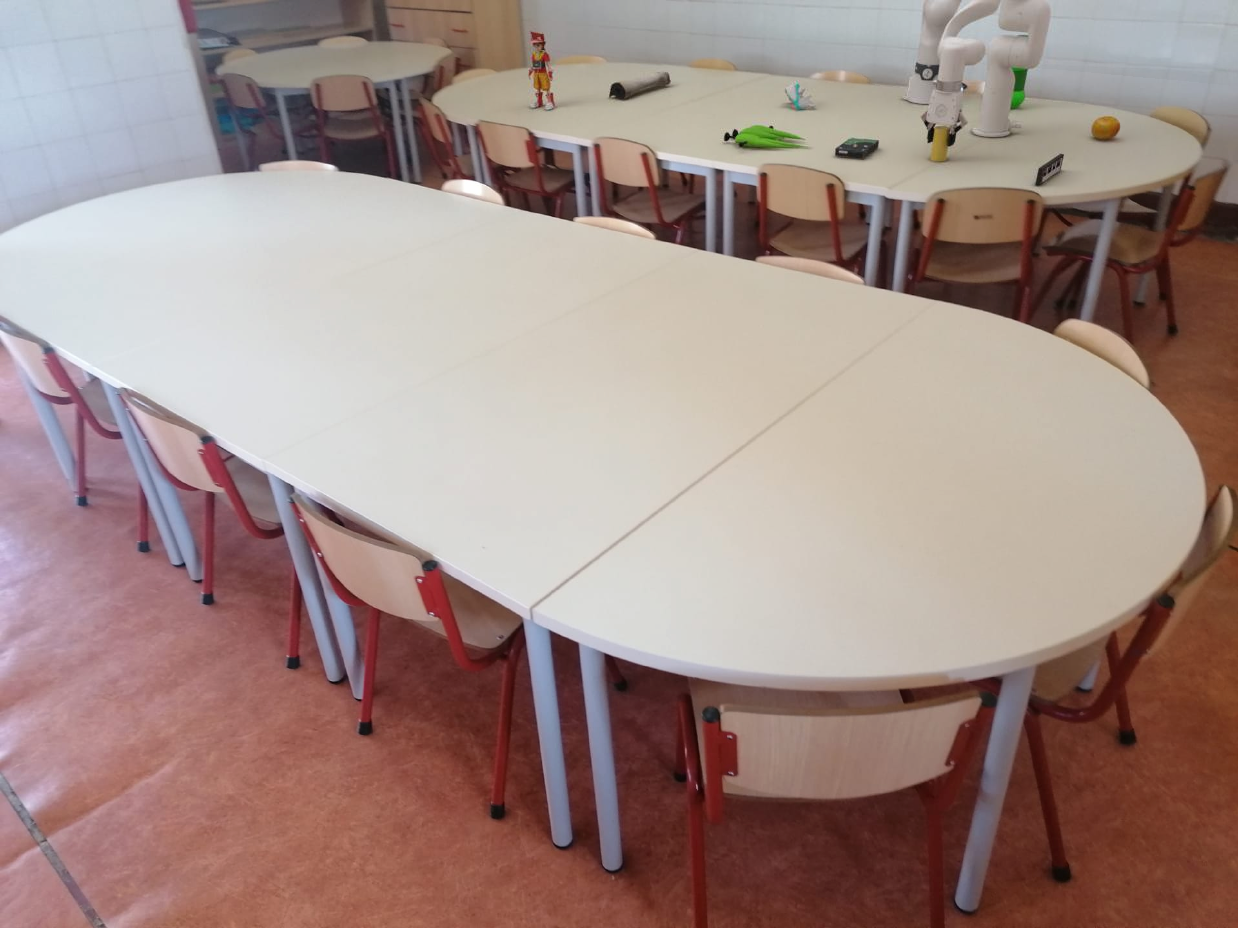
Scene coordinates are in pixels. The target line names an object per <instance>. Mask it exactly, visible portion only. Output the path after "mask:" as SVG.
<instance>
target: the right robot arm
mask: <svg viewBox="0 0 1238 928" xmlns="http://www.w3.org/2000/svg"><path fill="white" fill-rule="evenodd" d="M998 9H999V13H998V19H997V21H998V22H997V24H998V28H999V29H1001V30H1002V31H1007V32H1017V33H1027V35H1028V37H1023V36H1017V35H1011V34H1002V35H997V36H996V37H993V39H992V40H990V42H989V44H988V47H986V44H985V42H984V41H983V40H981V39H978V38H971V37H969V38H968V37H960V36H958V35H959V33H960V32H961V31H962V30H963V29H964V28H965V27H966V26H968V25H970V24H971V23H974V22H976V21H979V20H981V19H983V18H986V17H988V16H992V15H993V14H995V13H996V12H998ZM1051 11H1052V10H1051V5H1050V3H1048V2H1047V1H1045V0H970V2H969V3H967V4H966V5H965V6H964V7H962V8H961V9H960V10H959V11H958V12H956V13H955V15H954V17H953V18H952V19H951V20H950V21H949V23H948V24H947V26H946V28H945V30H944V33H943V35H942V38H941V40H940V43H939V46H938V51H937V54H938V58H939V60H940V66H939V73H938V79H937V80H934V81H933V84H934V85H936V89H934V90H933V92H932V95H931V99H930V102H929V104H928V107H927V111H925V112H924V113H923V114H922V115H920V118H921V120H922V122H923V124H924V126H925V127H926V130H927V136H926V140H927V141H926V143H927V144H931V143H933V136H934V129H935V127H936V126H937V125H940V126H948V127H950V134H949V137H948V144H947V146H948V148H949V147H952V146H954V145H955V143H956V138H957V133H959V132H960V131H961V130H962V129H963V128H964V127H965V126H967V125H968V123H969V122H968V120H967V118H966V117H965V116H964V114H963V108H964V92H963V91H962V90H961V88H962V86H963V85H962V83H963V79H964V73H965V68H966V67H967V66H974V65H977V64H979V63H980V62H981V61H983V59H984V58H985V55H987V57H986V58H987V59H986V60H987V62H986V63H987V64H986V65H987V67H986V76H985V81H984V82H985V83H984V88H983V96H982V100H981V106H980V110H979V111H980V112H979V117H978V123H977V126H974V127H973V128H972V134H974V135H976V136H979V137H986V138H1002V137H1007V136H1009V135H1010V134H1011V130H1012V129H1021V128H1022V123H1023V122H1022V121H1021V122H1020V121H1019V122H1017V121H1015V120H1013V121H1010V119H1009V117H1010V110H1011V109H1010V106H1011V101H1012V96H1013V90H1014V85H1015V76H1014V73H1013V70H1012V68H1011V67H1014V68H1024V69H1028V70H1031V69H1032V70H1033V69H1034V68H1037V67H1038V66H1039V64H1040V62H1041V61H1042V57H1043V55H1044V50H1045V45H1046V41H1047V35H1048V32H1049V26H1050V22H1051V16H1052V15H1051ZM986 51H987V54H986ZM959 123H960V124H959ZM958 124H959V125H958Z"/></svg>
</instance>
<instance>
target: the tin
mask: <svg viewBox="0 0 1238 928" xmlns="http://www.w3.org/2000/svg"><path fill="white" fill-rule="evenodd" d="M950 133H951V131H950V126H948V125H936V126H935V127H934V136H933V142H931V143H932V144H931V150H930V157H929V158H930V161H932V162H945V161H946V160H947V155H948V149H949V147H948V146H947V144H948V137H949V134H950Z"/></svg>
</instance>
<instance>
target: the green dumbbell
mask: <svg viewBox="0 0 1238 928" xmlns="http://www.w3.org/2000/svg"><path fill="white" fill-rule="evenodd" d="M1016 36H1023V37H1028V34H1018V35H1016ZM1011 68H1012V70H1013V73H1014V76H1015V85H1014V90H1013V96H1012V101H1011V106H1010V110H1011V109H1017V108H1018V107H1019V106H1020V105H1022V104H1023V103H1024V101H1025V99H1026V91H1025V85H1026V81H1027V76H1028V71H1029V69H1024V68H1014V67H1011Z"/></svg>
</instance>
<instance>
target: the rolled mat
mask: <svg viewBox="0 0 1238 928" xmlns="http://www.w3.org/2000/svg"><path fill="white" fill-rule="evenodd" d="M671 83H672V81H671V77H670V74H669V72H668V71H658V72H654V73H649V74H645V75H640V76H637V77H633V78H628V79H623V80H620V81H616V82H613V83H612V84H611V85H610V89H609V95H608V97H609V98H611V97H616V99H620V100H622V101H623V100H626V99H627V98H629V97H630V96H632V95H635V94H636V93H638V92H640V91H643V90H644V89H647V88H650V87H655V86H658V87H659V86H661V87H665V86H669V85H670V84H671Z"/></svg>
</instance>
